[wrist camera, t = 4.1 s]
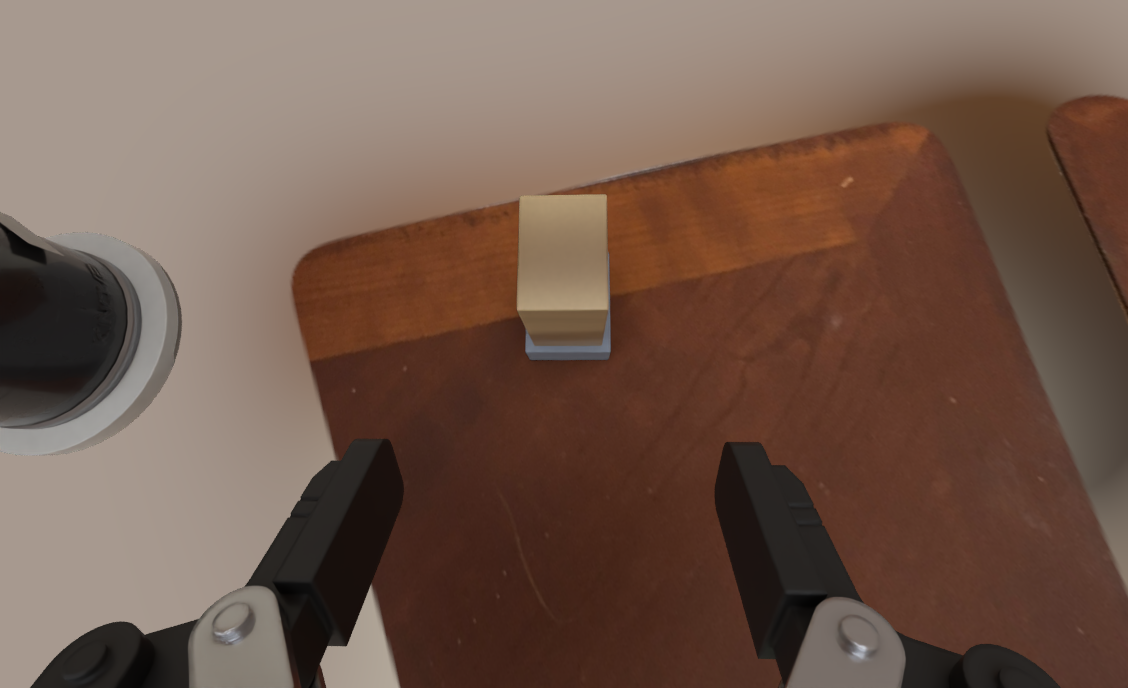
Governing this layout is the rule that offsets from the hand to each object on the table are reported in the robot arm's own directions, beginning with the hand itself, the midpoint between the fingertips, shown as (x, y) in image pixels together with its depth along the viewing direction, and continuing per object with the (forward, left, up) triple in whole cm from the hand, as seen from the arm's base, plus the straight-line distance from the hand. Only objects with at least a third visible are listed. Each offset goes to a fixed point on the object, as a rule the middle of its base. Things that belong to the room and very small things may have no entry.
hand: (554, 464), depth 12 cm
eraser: (+2, +7, -12) cm, 14 cm away
